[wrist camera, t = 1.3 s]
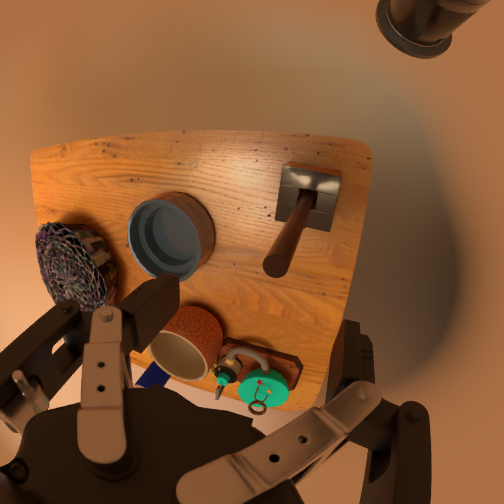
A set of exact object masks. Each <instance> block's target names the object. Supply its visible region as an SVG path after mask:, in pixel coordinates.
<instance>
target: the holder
mask: <svg viewBox="0 0 504 504" xmlns="http://www.w3.org/2000/svg"><path fill="white" fill-rule="evenodd" d="M340 182H341V172H340V171H336V170H332V169H327V168H322V167H318V166H313V165H308V164H302V163H297V162H292V161H290V162H288V163H286V164H284V165H283V168H282V175H281V181H280V188H279V195H278V202H277V208H276V214H275V220H276V221H281V222H287V220H288V218H289V217H290V215H291V213H292V211H293V210H294V208H295V206H296V205H297V203H298V201H299V199H300V198H301V196H302V191H303V189H308V190H313V191H318V196H317V200H313V203H312V206H311V209H310V211H309V214H308V217H307V220H306V223H305V225H304V227H309V228H313V229H318V230H322V231H326V232H330V229H331V225H332V220H333V216H334V211H335V207H336V202H337V197H338V192H339V187H340Z"/></svg>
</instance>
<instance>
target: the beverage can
mask: <svg viewBox="0 0 504 504" xmlns="http://www.w3.org/2000/svg"><path fill="white" fill-rule="evenodd" d="M170 377H171V375H169V374H168V373H166V372H165V371H164V370H163V369H161V368H160V367H159V366H158V365H157V364H156V362H155V361H153V362H152V363H151V364H150V366H149V367H148V368H147V369H146V371H145V372H144V373H143V375H142V376H141V377H140V378H139V380H138V381H137V382H136V383H135V385H134V386H133V388H149V389H150V387H151V386H152V385H153V383H156V384H158V385H161V386H163V387H164V385H165V384H166V382H167V381H168V380H169V378H170Z"/></svg>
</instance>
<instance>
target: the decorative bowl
mask: <svg viewBox="0 0 504 504" xmlns="http://www.w3.org/2000/svg"><path fill="white" fill-rule="evenodd" d="M35 243H36V251H37V259H38V263H39V267H40V273H41V276H42V279H43V282H44V284H45V285H46V287H47V290H48V292H49V294H50V295H51V297H52V299H53V300H54V302H55V304H57V303H59V302H61V301H63V300H67V299H73V300H76V301H78V302H79V304H80V307H81V310H82V311H88V312H94V311H95V310H97V309H98V308H100V307H103V306H114V301H115V299H116V294H115V293H116V291H117V288H118V286H117V282H116V280H117V278H116V275H117V273H118V265H117V263H116V262H115V260H113V259H112V254H111V252H110V251H109V249H108V248H107V244H106V241H105V240H104V239H103V238H102V237H99V235H98V234H97V232H96V231H94V230H90V229H89V227H88V226H87V225H86V224H61V223H60V222H55V223H49V222H48V223H47V224H42V225H41V226H40V228H39V231H38V232H37V234H36V240H35Z"/></svg>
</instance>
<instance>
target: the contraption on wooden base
mask: <svg viewBox="0 0 504 504" xmlns="http://www.w3.org/2000/svg"><path fill="white" fill-rule="evenodd" d="M216 363H217V364H216ZM215 366H216V368H215ZM302 369H303V365H302V364H301V362H300V360H299V359H298V357H297V356H293V355H289V354H285V353H281V352H277V351H274V350H270V349H266V348H263V347H259V346H256V345H252V344H249V343H246V342H242V341H239V340H236V339H232V338H229V337H228V338H226V339H225V340H223V343H222V346H221V349H220V351H219V353H218V355H217V357H216V359H215V361H214V363H213V365H212V367H211V369H210V372H213V371H214V374H215V376H216V377H217V382H218V383H219V384H220V385H222V386H220V385H218V387H217V389H216V398H215V399H216V400H218V399H219V397H220V395H221V393H222V391H223V389H224V387H225V386H226V385H227V384H228V383H234V382H236V381H239V382H241V384H240V385H239V388H238V394H239V396H240V398H241V399H242V400H243V401H244V402H245V403H247V404H249V406H248V409H249V411H250V412H251V413H252V414H255V415H262V414H264V413H265V412H266V409H267V407H275V406H279V405H281V404H283V403H284V402H285V401H286V400H287V399H288V396H289V391H291V390H294V389H295V387H296V385H297V382H298V380H299V377H300V374H301V372H302ZM251 406H256V407H263V408H264V410H263V411H261V412H257V411H254V410H253V409H252V407H251Z"/></svg>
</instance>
